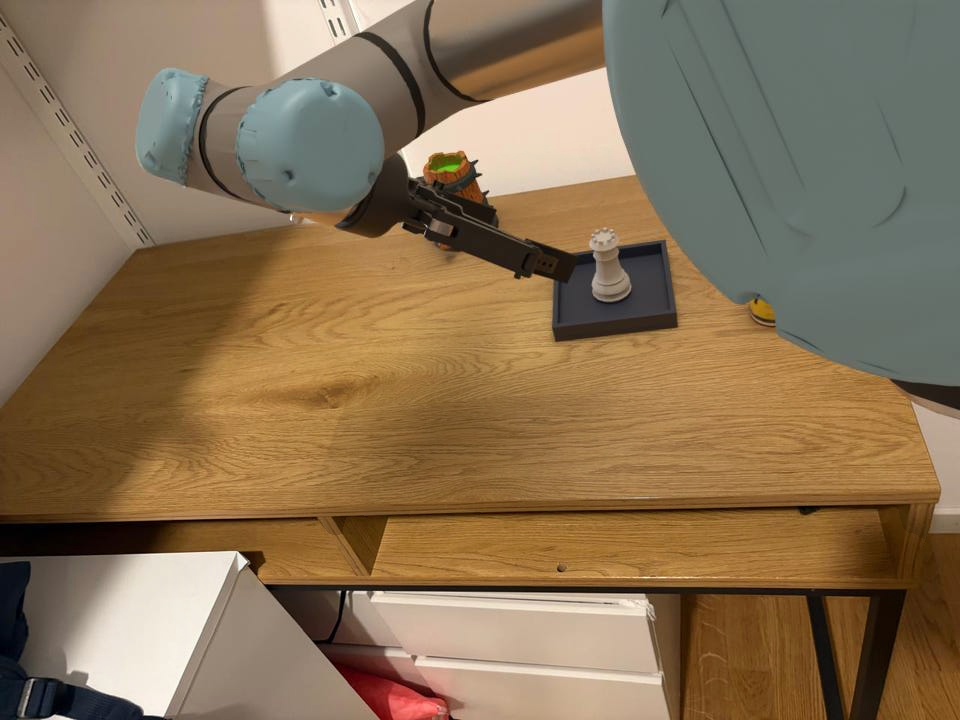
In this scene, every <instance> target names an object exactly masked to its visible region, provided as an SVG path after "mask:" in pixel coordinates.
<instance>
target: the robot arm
mask: <svg viewBox="0 0 960 720" xmlns="http://www.w3.org/2000/svg"><path fill="white" fill-rule="evenodd" d="M604 68H605V69H606V76H607V77H606V78H607V83H608V87H609V88H608V89H609V93H610V98H611V103H612V106H613V111H614V115H615V119H616V122H617V125H618V129H619V132H620V136H621V138H622V141H623V144H624V146H625V149H626V151H627V154H628V157H629V160H630V163H631V165H632V168H633V170H634V172H635V173H634V174H635V175H636V177H637V179H638V181H639V184H640V186H641V189H642V191H643V192H644V194H645V195H646V198H647V199H648V201H649V203H650V205H651V207H652V208H653V210H654V212H655V213H656V215H657V217H658V218H659V219H658V220H660V222H661V223H662V225H663V226H664V228H665V229H666V231H667V233H668V234H669V236H670V237H671V238H672V240H674V242H675V244H676V245H677V246H678V248H679V249H680V251H681V252H682V253H683V254H684V255H685V256H686V258H687V259H688V260H689V261H690V263H691V264H692V265H693V266H694V267H695V268H696V270H697V271H699V273H700V274H701V275H702V276H703V277H704V278H705V279H706V281H708V282H709V283H710V284H711V285H712V286H713V287H714V288H715V289H717V291H719V292H720V293H721V295H723V296H724V297H725V298H727V300H729V301H731V302H732V303H733V304H735V305H740V306H745V305H746V304H748V303H749V302H750V301H752V300H754V299H755V298H757V299H760V300H762V301H764V302H766V303H767V304H769V305H771V307H772V310H773V312H774V314H775V323H776V326H775V328H774V331H775V333H776V334H777V336H778V337H779V338H781V339H783V340H785V341H787V342H789V343H792V344H793V345H795V346H797V347H799V348H801V349H802V350H805V351H806V352H809V353H812V354H813V355H816V356H819V357H821V358H823V359H825V360H828V361H830V362H832V363H835V364H839V365H841V366H844V367H848V368H849V369H853V370H856V371H860V372H862V373H866V374H870V375H873V376H876V377H880V378H885V379H887V381H888V382H889V383H890V384H891V385H892V386H893V387H894V389H895V390H896V391H897V393H899V394H901V395H902V396H903V397H905V398H907V399H908V400H909V401H911V402H912V403H914V404H915V405H917V406H920V407H922V408H924V409H925V410H926V409H927V410H929V411H931V412H933V413H936V414H938V415H941V416H945V417H949V418H952V419H956V420H959V421H960V0H413V1H412V2H410V3H407V4H406V5H404V6H402V7H401V8H399V9H397V10H396V11H394V12H392V13H391V14H389V15H387V16H386V17H383V19H381V20H379V21H377V22H376V23H374V24H372V25H370V26H369V27H367V28H365V29H363V30H362V31H360V32H358V33H355V34H354V35H352V36H351V37H348V38H347V39H345V40H343V41H342V42H340V43H338V44H335V45H334V46H332V47H331V48H329V49H327V50H325V51H324V52H322V53H319V55H316V56H314V57H312V58H311V59H309V60H307V61H306V62H304V63H302V64H300V65H299V66H297V67H295V68H293V69H291V70H289V71H288V72H286V73H284V74H282V75H281V76H279V77H277V78H275V79H273V80H271V81H269V82H267V83H264V84H259V85H247V86H246V85H245V86H244V85H243V86H234V87H232V86H229V85H225V84H222V83H220V82H217V81H215V80H213V79H211V78H210V76H208V75H206V74H201V75H199V74H195V73H192V72H189V71H186V70H184V69H180V68H177V67H167V68H163V69H161V70H160V71H159V72H157V74H155V76H154V77H153V78H152V80H151V82H150V83H149V84H148V87H147V88H146V92H145V94H144V96H143V98H142V102H141V106H140V108H139V109H140V110H139V114H138V119H137V123H136V129H135V141H134V142H135V154H136V155H135V156H136V159H137V162H138V164H139V166H140V167H141V169H142V170H143V171H144V172H145V173H147V174H148V175H151V176H153V177H155V178H159V179H163V180H164V181H168V182H170V183H174V184H176V185H178V186H179V187H180V188H185V189H188V188H189V189H194V190H198V191H201V192H204V193H208V194H212V195H215V196H218V197H223V198H226V199H230V200H233V201H236V202H241V203H245V204H248V205H253V206H257V207H261V208H264V209H267V210H268V209H269V210H272V211H275V212H277V213H282V214H283V215H289V216H290V218H289V219H290V221H291V223H293V224H294V225H297V226H300V225H301V224H303V221H304V219H307V220H309V221H311V222H313V223H316V224H321V225H324V226H327V227H328V226H329V227H330V226H331V227H334V228H335V229H337V230H339V231H343V232H346V233H349V234H354V235H357V236H361V237H364V238H367V239H376V238H377V239H378V238H380V237H382V236H384V235H385V234H387V233H388V232H390V231H391V229H393V228H394V227H395V226H396V225H398V223H399V224H401V225H400V228H401V229H402V230H404V231H406V232H408V233H411V234H413V235H422V237H424V239H426V240H427V241H429V242H431V243H434V242H437V243H440V244H444V245H447V246H450V247H452V248H455V249H457V250H460V251H459V252H463V253H465V254H467V255H470V256H473V257H476V258H478V259H480V260H483V261H485V262H488V263H490V264H493V265H495V266H498V267H501V268H503V269H506V270H507V271H510V272H513V279H516V280H521V278H522V277H523V278H525V279H531V278H532V276H533V275H536V276H539V277H543V278H545V279H548V280H553V281H554V280H556V281H559V282H563V283H566V284H567V283H568V281H569V279H570V277H571V275H572V273H573V271H574V268H575V266H576V264H577V262H578V260H579V258H580V257H578V256H576V255H575V254H572V253H573V252H568V251H566V250H563V249H559V248H557V247H554V246H551V245H548V244H545V243H542V242H539V241H536V240H533V239H531V238H527V237H525V239H523V238H521V237H518V236H515V235H514V234H512V233H510V232H507V231H505V230H502V229H500V228H499V227H498V228H496V227H493V226H491V223H492V220H493V218H494V216H495V214H496V215H497V211H498V209H496V208H495V207H494V208H492V207H490V206H487V205H484V204H481V203H478V202H476V201H473V200H470V199H467V198H465V197H462V196H459V195H456V194H454V193H451V192H448V191H446V192H445V194H444V196H443V195H441V194H442V191H443V189H444V187H445V183H443V182H441V181H439V180H436V179H435V180H434V182H433V185H432V186H428V183H426V181H425V180H423V179H421V180H419V179H416V177H412V176H409V171H408V166H407V164H406V162H405V159H404V157H402V155H401V154H400V153H398V152H399V151H401V150H403V149H404V148H406V147H407V146H408V145H410V144H411V143H412V142H413V141H415V140H416V139H418V138H420V137H421V136H422V135H423V134H425V133H427V132H428V131H429V130H431V129H433V128H435V127H436V126H438V125H439V124H441V123H442V122H444V121H446V120H447V119H449V118H450V117H452V116H453V115H456V114H457V113H459V112H461V111H463V110H465V109H470V108H472V107H476V106H480V105H484V104H486V103H489V102H492V101H494V100H497V99H500V98H504V97H507V96H511V95H515V94H518V93H521V92H525V91H528V90H532V89H536V88H539V87H541V86H545V85H548V84H552V83H556V82H559V81H564V80H567V79H569V78H573V77H576V76H580V75H584V74H587V73H591V72H594V71H597V70H601V69H604ZM433 241H434V242H433Z"/></svg>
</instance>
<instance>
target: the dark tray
mask: <svg viewBox="0 0 960 720" xmlns="http://www.w3.org/2000/svg"><path fill="white" fill-rule="evenodd" d="M616 248H618V250H619V253H618V260H619V263H620V266H621V268H622V269H624V272H626V273H627V274H628V276H629V279H630V283H631V286H632V287H631V291H630V292H629V294H628V295H627V296H626V297H625V298H624V299H622V300H620V301H618V302H614V303H605V302H602V301H600V300H598V299H597V298H596V297H595V296H593V292H592V290H593V288H592V281H593V278H594V276H595V273H596V259H595V258H594V256H593V253H594V250H593V249H590V250H583V251H577V252H571V253H572V254H575V255H576V256H578V257H580V258H579V260H578V262H577V264H576V266H575V268H574V271H573V273H572V275H571V277H570V279H569V281H568V283H567V284H566V283H563V282H559V281H556V280H553V284H552V285H553V286H552V314H551V315H552V316H551V317H552V318H551V331H552V334H553V339H554V341H555V342H561V341H570V340H579V339H587V338H588V339H589V338H595V337H602V336H603V337H604V336H613V335H620V334H621V335H622V334H629V333H638V332H646V331H647V332H648V331H655V330H663V329H671V328H678V327H679V326H678V325H679V324H678V315H677V314H678V313H677V308H676V307H677V306H676V300H675V294H674V285H673V280H672V272H671V266H670V265H671V264H670V259H669V258H670V257H669V253H668V246H667V239H659V240H651V241H645V242H638V243H631V244H624V245H617V246H616Z"/></svg>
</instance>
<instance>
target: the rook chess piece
mask: <svg viewBox="0 0 960 720" xmlns="http://www.w3.org/2000/svg"><path fill="white" fill-rule="evenodd" d="M590 237H591V238H590V240H589V243H588V245H589V248H590V249H591V250H594V253H593V256H594V258H595V259H596V273H595V276H594V278H593V281H592V288H593V290H592V292H593V296H595V297H596V298H597V299H598V300H600V301H602V302H605V303H614V302H618V301H620V300H622V299H624V298H625V297H626V296H627V295H628V294H629V292H630V291H631V287H632V286H631V283H630V279H629V276H628V274H627V273H626V272H624V269H622V268H621V266H620V263H619V260H618V253H619V250H618V248H616V247H617V246H619V243H620V238H619V235H616V233H615V230H614V229H613V228H610V229H609V228H608V227H603V228H602V231H600V229H599V228H598V229H596V230H594V233H591V236H590Z"/></svg>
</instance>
